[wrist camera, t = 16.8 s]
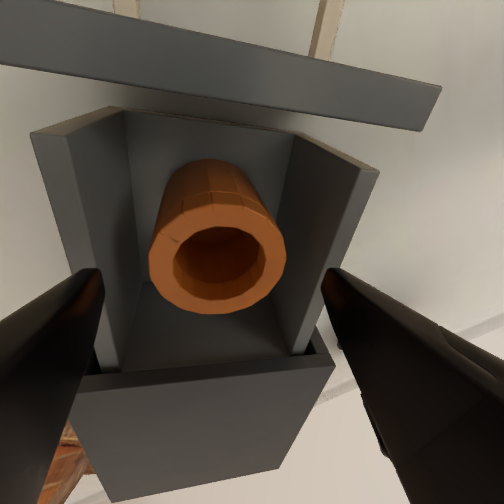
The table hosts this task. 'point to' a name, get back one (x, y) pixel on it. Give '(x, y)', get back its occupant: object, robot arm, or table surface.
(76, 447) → the bird sculpture
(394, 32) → the table surface
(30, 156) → the table surface
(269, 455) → the cabinet
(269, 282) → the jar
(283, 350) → the drawer
